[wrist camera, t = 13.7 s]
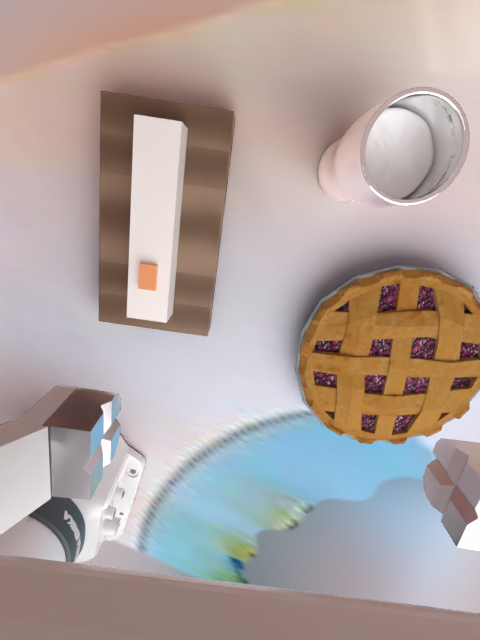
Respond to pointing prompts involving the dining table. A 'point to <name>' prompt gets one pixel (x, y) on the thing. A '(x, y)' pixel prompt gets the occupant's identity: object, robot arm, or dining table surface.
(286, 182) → the dining table surface
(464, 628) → the robot arm
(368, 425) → the pie
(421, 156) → the beer glass
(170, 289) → the power strip
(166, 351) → the dining table surface
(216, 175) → the socket board
